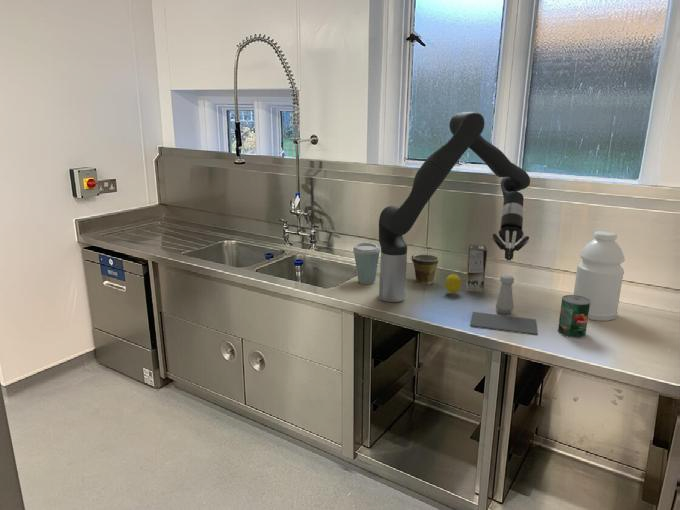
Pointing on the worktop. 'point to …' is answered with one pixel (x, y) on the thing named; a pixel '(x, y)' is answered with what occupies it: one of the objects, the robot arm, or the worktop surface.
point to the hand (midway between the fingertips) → (508, 259)
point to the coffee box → (476, 267)
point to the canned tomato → (574, 316)
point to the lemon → (453, 283)
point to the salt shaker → (505, 295)
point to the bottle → (600, 275)
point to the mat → (504, 323)
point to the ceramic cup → (425, 268)
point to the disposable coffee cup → (366, 261)
